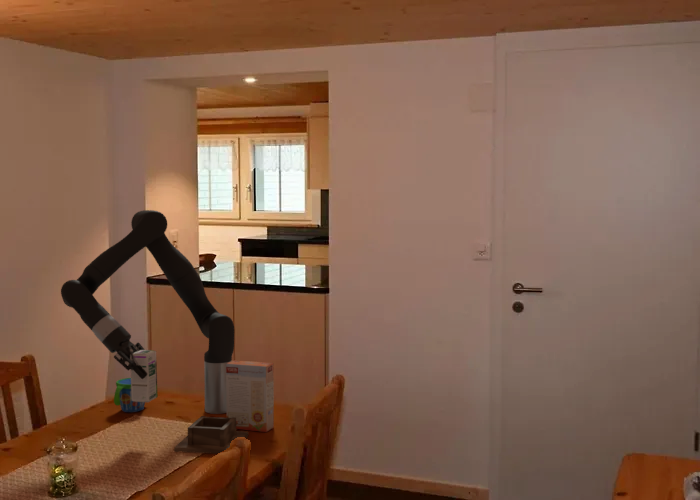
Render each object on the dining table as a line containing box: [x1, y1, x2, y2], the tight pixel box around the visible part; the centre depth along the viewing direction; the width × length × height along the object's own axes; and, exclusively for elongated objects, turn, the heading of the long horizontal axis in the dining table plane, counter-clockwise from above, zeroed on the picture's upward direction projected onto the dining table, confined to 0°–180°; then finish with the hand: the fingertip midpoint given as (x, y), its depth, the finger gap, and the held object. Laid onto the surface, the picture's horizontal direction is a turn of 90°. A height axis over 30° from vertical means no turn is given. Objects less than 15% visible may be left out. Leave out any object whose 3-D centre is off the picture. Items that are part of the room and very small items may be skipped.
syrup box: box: [130, 349, 158, 403], centre depth 223 cm, size 6×6×14 cm
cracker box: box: [226, 360, 275, 433], centre depth 236 cm, size 14×6×21 cm, turn 71°
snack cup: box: [113, 377, 146, 413], centre depth 256 cm, size 16×10×10 cm
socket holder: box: [173, 415, 249, 455], centre depth 222 cm, size 17×17×6 cm
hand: (149, 374), depth 223 cm, fingers closed on syrup box, 6 cm apart
